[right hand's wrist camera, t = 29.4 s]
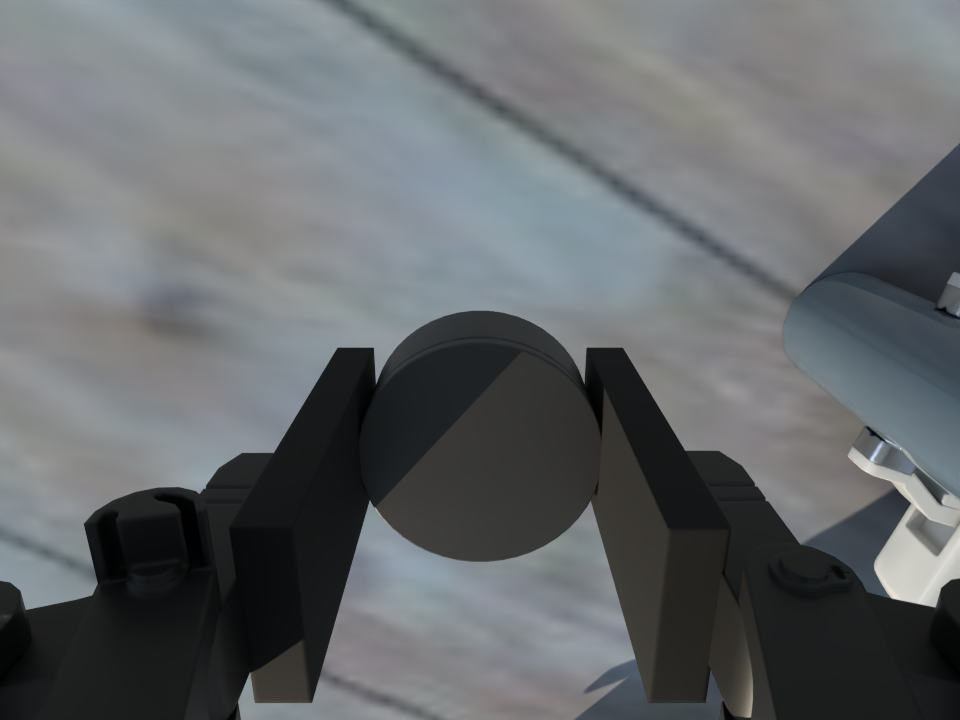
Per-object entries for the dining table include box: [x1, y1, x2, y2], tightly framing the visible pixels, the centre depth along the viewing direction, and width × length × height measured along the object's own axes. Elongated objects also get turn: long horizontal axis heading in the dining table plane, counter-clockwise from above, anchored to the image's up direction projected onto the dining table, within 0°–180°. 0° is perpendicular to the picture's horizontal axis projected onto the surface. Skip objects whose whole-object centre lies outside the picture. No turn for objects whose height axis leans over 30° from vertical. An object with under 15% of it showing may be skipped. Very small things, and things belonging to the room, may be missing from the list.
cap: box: [359, 311, 602, 562], centre depth 13 cm, size 4×4×2 cm
